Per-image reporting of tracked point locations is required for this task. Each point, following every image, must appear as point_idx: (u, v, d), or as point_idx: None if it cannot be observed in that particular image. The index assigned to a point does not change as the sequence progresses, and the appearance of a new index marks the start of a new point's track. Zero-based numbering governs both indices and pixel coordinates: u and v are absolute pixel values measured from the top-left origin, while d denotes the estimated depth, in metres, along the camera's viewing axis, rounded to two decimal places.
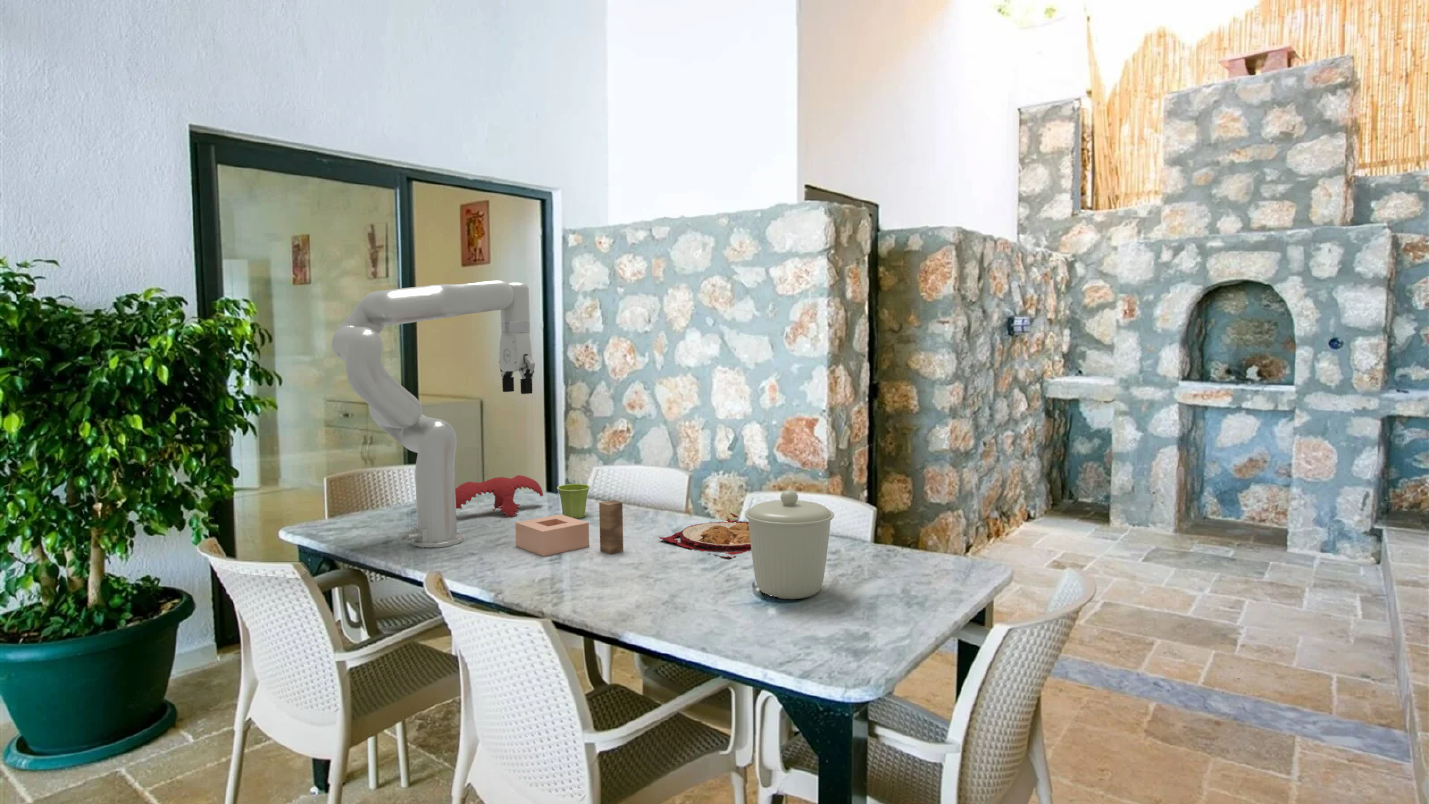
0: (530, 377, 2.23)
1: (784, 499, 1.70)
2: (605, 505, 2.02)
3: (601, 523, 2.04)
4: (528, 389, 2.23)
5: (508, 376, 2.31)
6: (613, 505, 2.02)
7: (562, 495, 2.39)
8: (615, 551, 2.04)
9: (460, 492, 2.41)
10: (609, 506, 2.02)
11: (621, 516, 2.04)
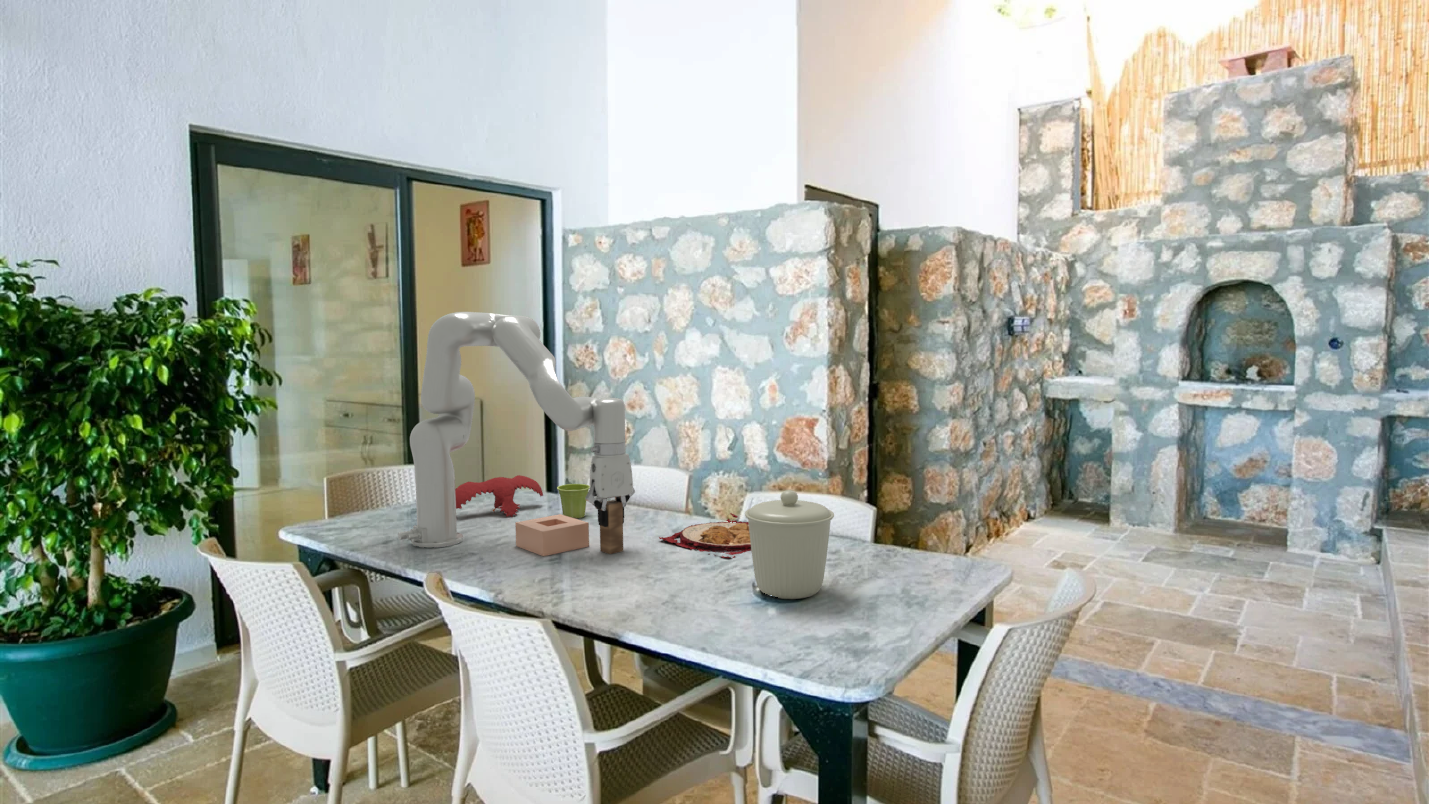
0: None
1: (783, 499, 1.70)
2: None
3: None
4: None
5: None
6: (613, 505, 2.02)
7: (562, 495, 2.39)
8: (615, 551, 2.03)
9: (460, 492, 2.41)
10: (609, 506, 2.02)
11: (621, 516, 2.04)
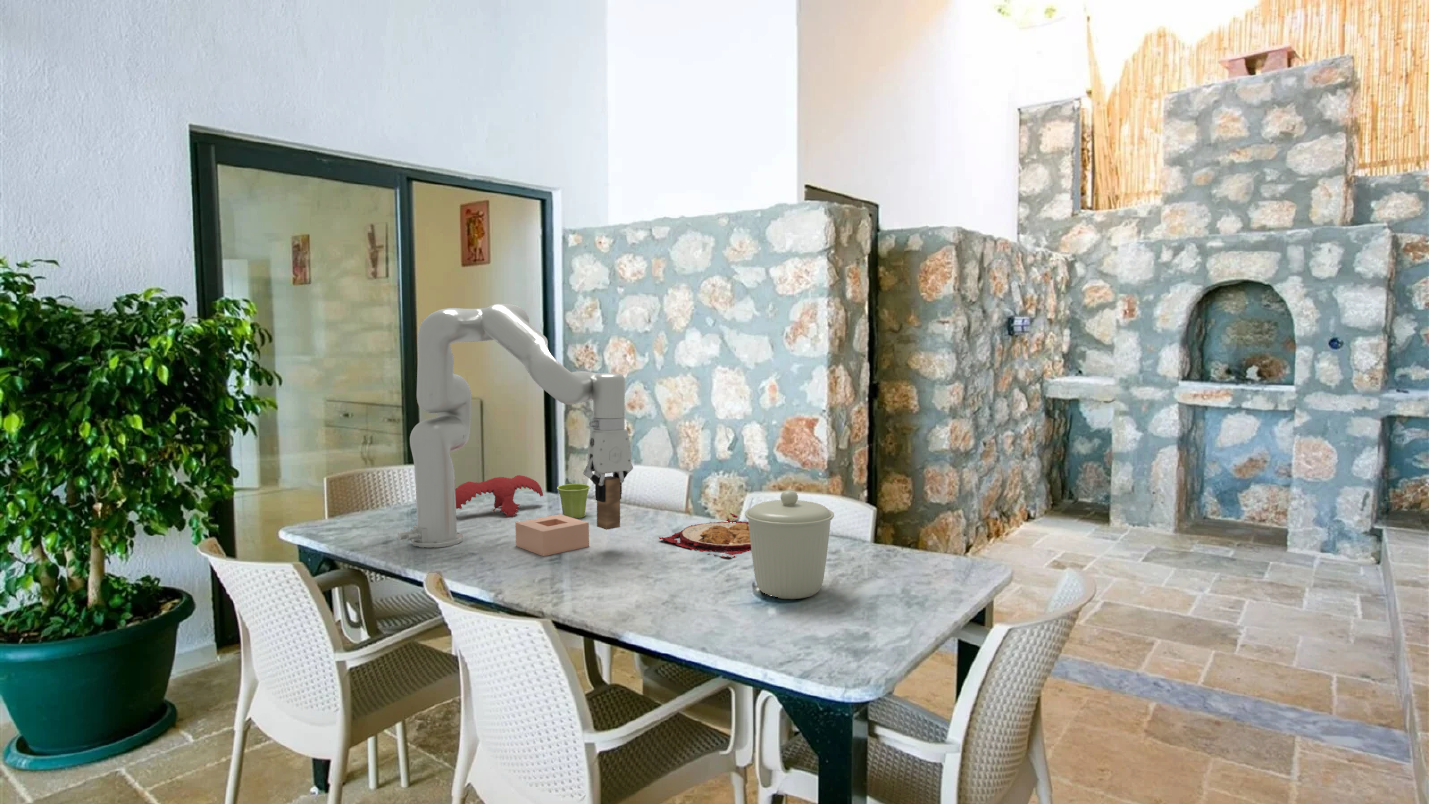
0: None
1: (783, 499, 1.70)
2: None
3: None
4: None
5: None
6: (611, 480, 2.02)
7: (562, 495, 2.39)
8: (612, 527, 2.03)
9: (460, 492, 2.41)
10: (607, 481, 2.01)
11: (619, 492, 2.04)
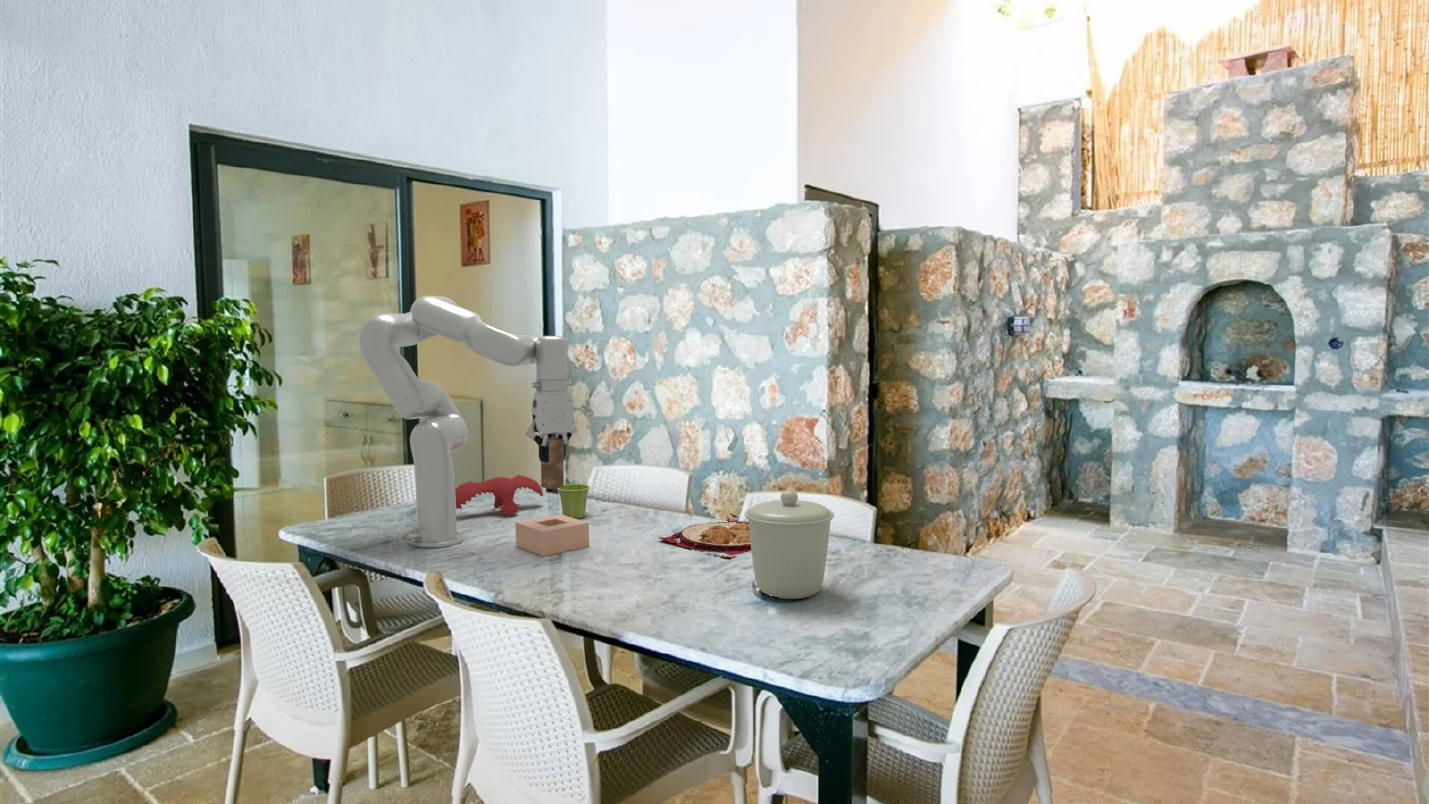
0: None
1: (783, 499, 1.70)
2: None
3: None
4: None
5: None
6: (554, 441, 2.06)
7: (562, 495, 2.39)
8: (555, 486, 2.07)
9: (460, 492, 2.41)
10: (550, 442, 2.05)
11: (562, 452, 2.07)
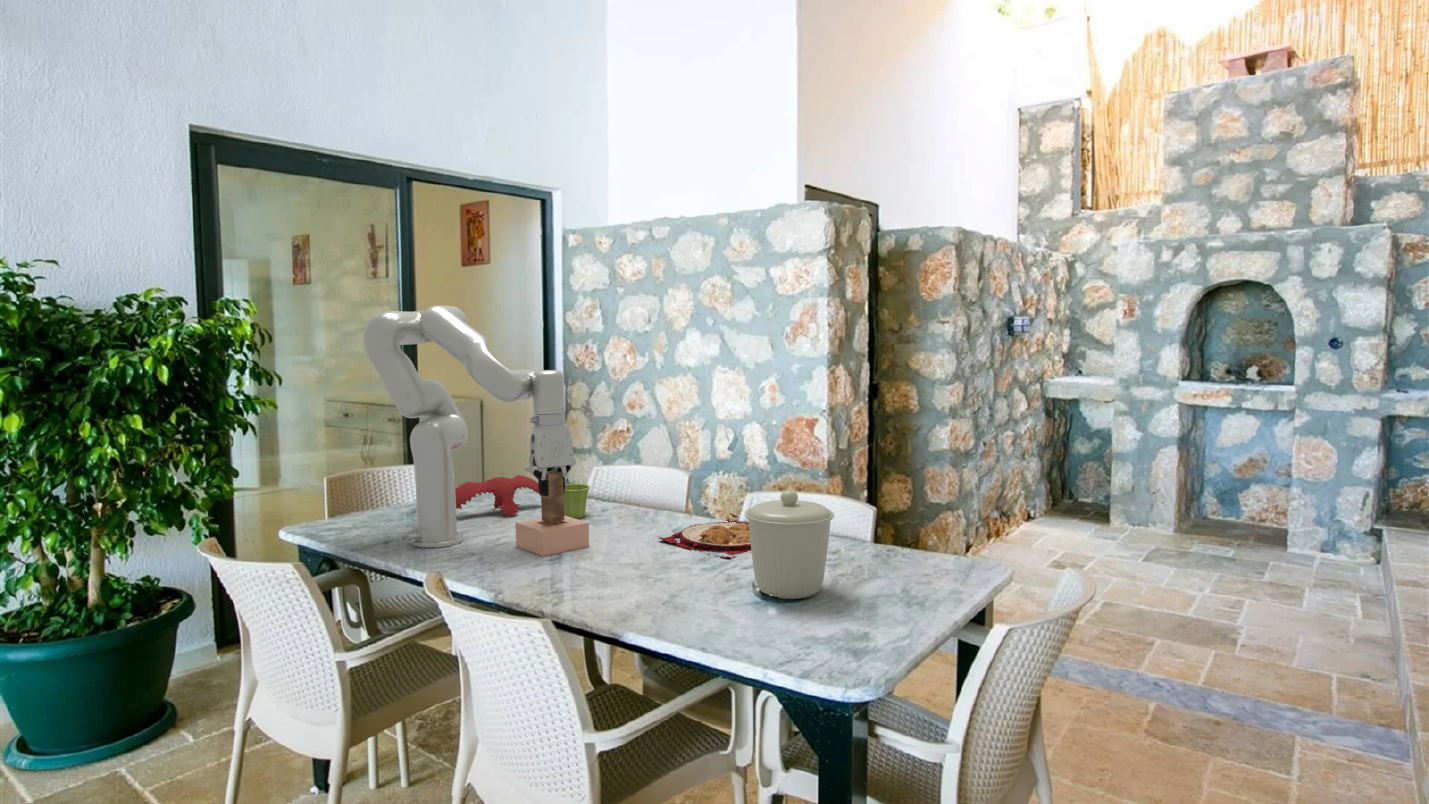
0: None
1: (784, 499, 1.70)
2: None
3: None
4: None
5: None
6: (553, 474, 2.07)
7: None
8: (556, 520, 2.08)
9: (460, 492, 2.41)
10: (549, 475, 2.06)
11: (562, 485, 2.08)
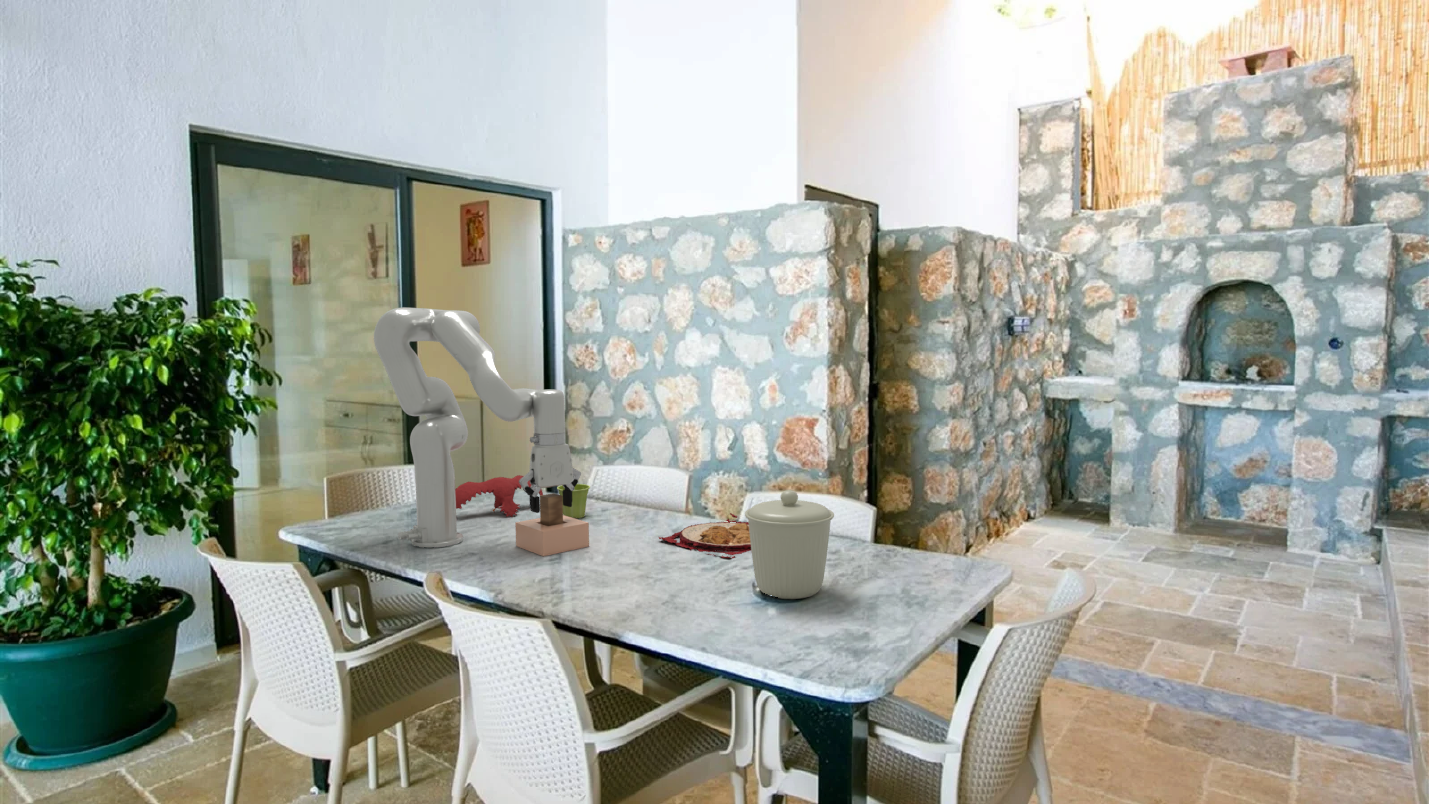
0: None
1: (784, 499, 1.70)
2: (545, 498, 2.07)
3: (541, 515, 2.09)
4: None
5: None
6: (553, 498, 2.07)
7: (562, 495, 2.39)
8: None
9: (460, 492, 2.41)
10: (549, 499, 2.06)
11: (561, 509, 2.09)
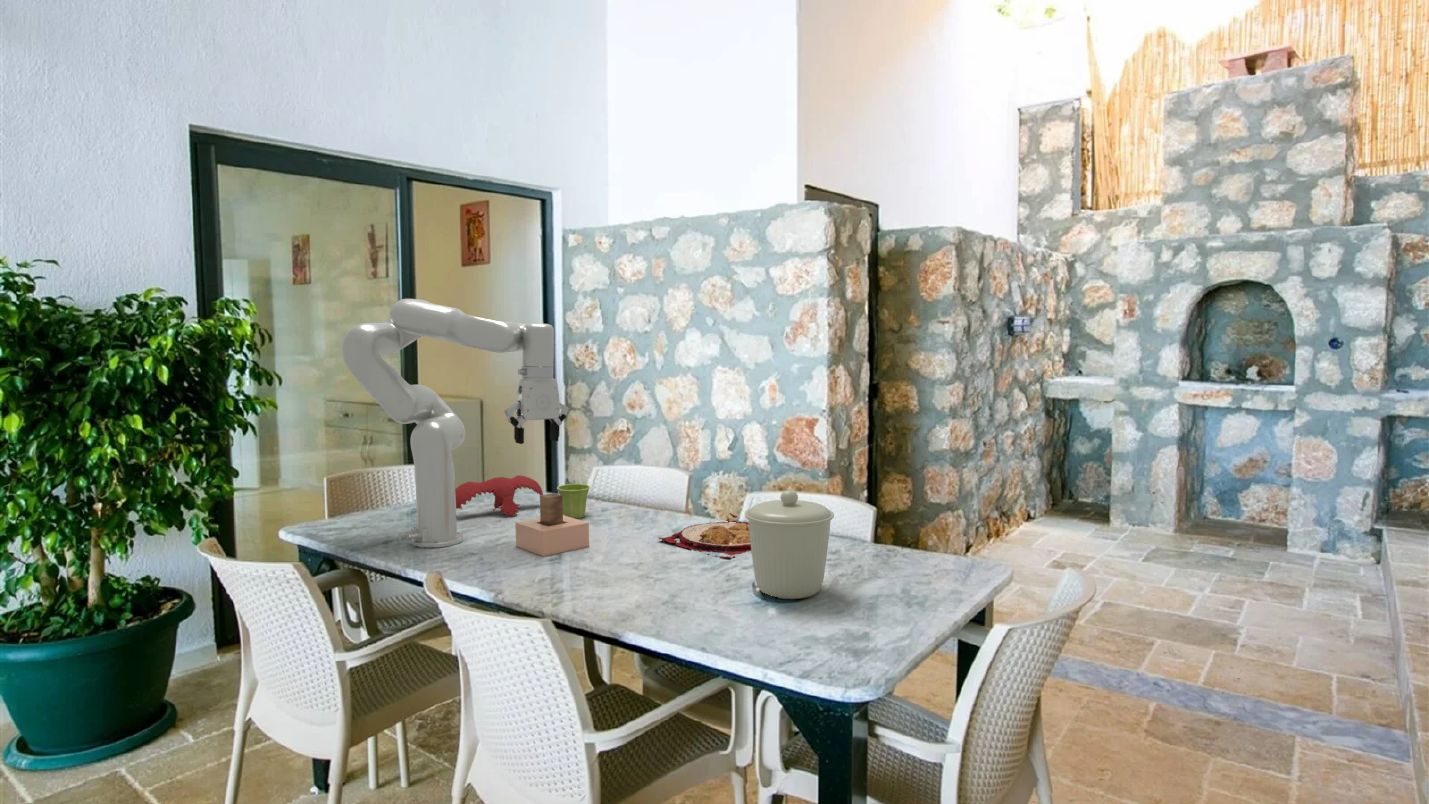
0: None
1: (784, 499, 1.70)
2: (545, 498, 2.07)
3: (541, 515, 2.09)
4: None
5: None
6: (553, 498, 2.07)
7: (562, 495, 2.39)
8: None
9: (460, 492, 2.41)
10: (549, 499, 2.06)
11: (561, 509, 2.09)
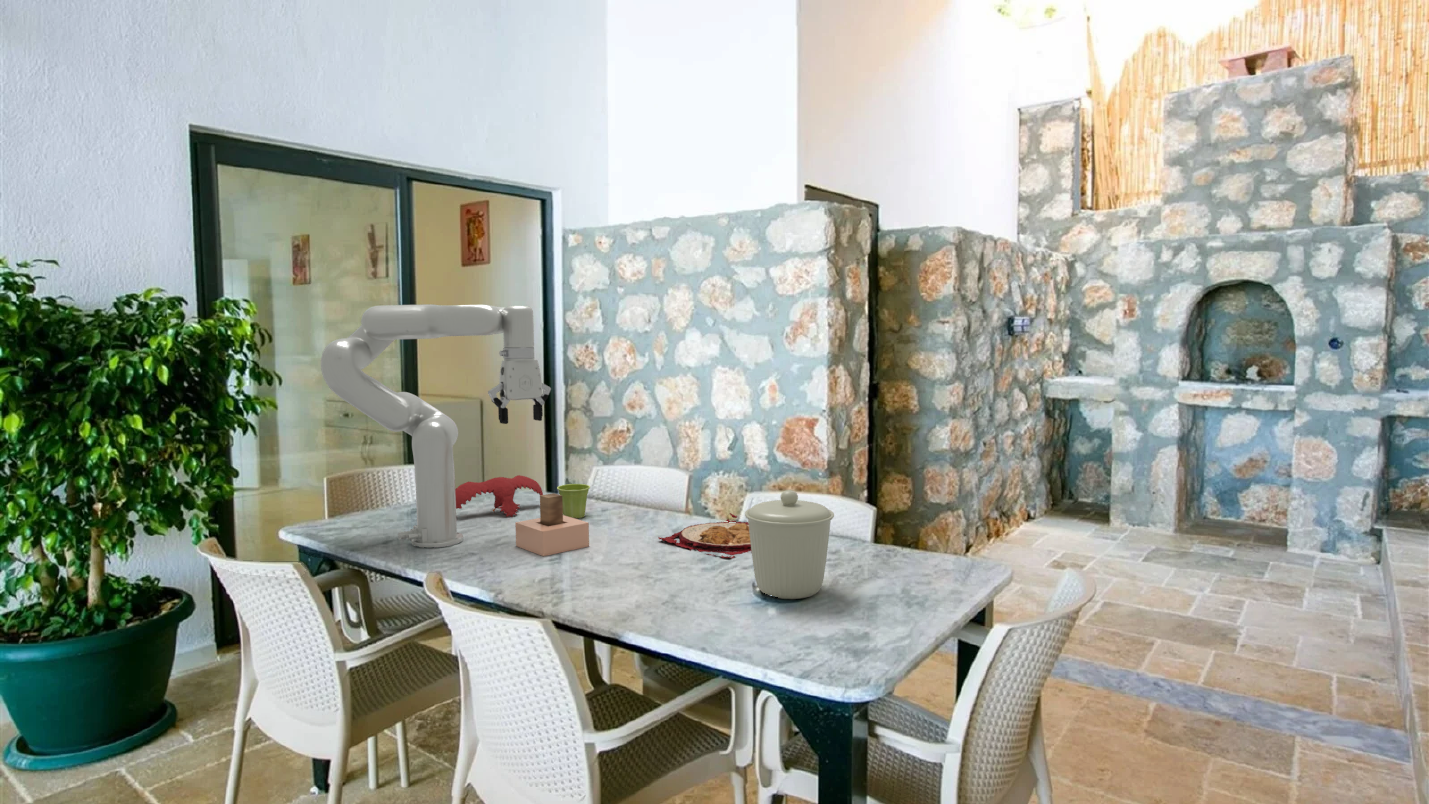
0: None
1: (784, 499, 1.70)
2: (545, 498, 2.07)
3: (541, 515, 2.09)
4: None
5: None
6: (553, 498, 2.07)
7: (562, 495, 2.39)
8: None
9: (460, 492, 2.41)
10: (549, 499, 2.06)
11: (561, 509, 2.09)
